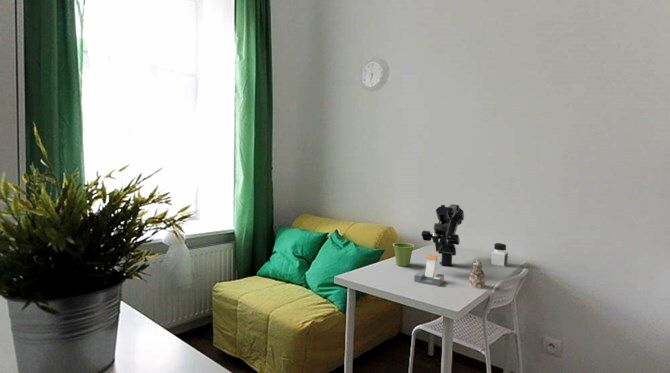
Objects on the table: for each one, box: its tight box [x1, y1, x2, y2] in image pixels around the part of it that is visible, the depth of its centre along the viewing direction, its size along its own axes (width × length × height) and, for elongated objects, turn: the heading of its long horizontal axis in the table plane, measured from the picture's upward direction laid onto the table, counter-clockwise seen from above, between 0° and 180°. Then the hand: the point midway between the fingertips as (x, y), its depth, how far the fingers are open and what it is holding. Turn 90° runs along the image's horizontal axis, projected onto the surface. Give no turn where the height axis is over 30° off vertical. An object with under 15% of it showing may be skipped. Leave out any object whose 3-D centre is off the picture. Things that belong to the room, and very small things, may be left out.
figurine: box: [468, 259, 486, 289], centre depth 175 cm, size 7×7×12 cm
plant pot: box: [392, 242, 415, 267], centre depth 207 cm, size 12×12×11 cm
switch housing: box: [413, 270, 445, 287], centre depth 180 cm, size 9×12×3 cm
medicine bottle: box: [490, 242, 509, 268], centre depth 212 cm, size 7×7×12 cm
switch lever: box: [424, 253, 439, 278], centre depth 181 cm, size 3×5×10 cm, turn 60°
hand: (436, 251), depth 189 cm, fingers closed
